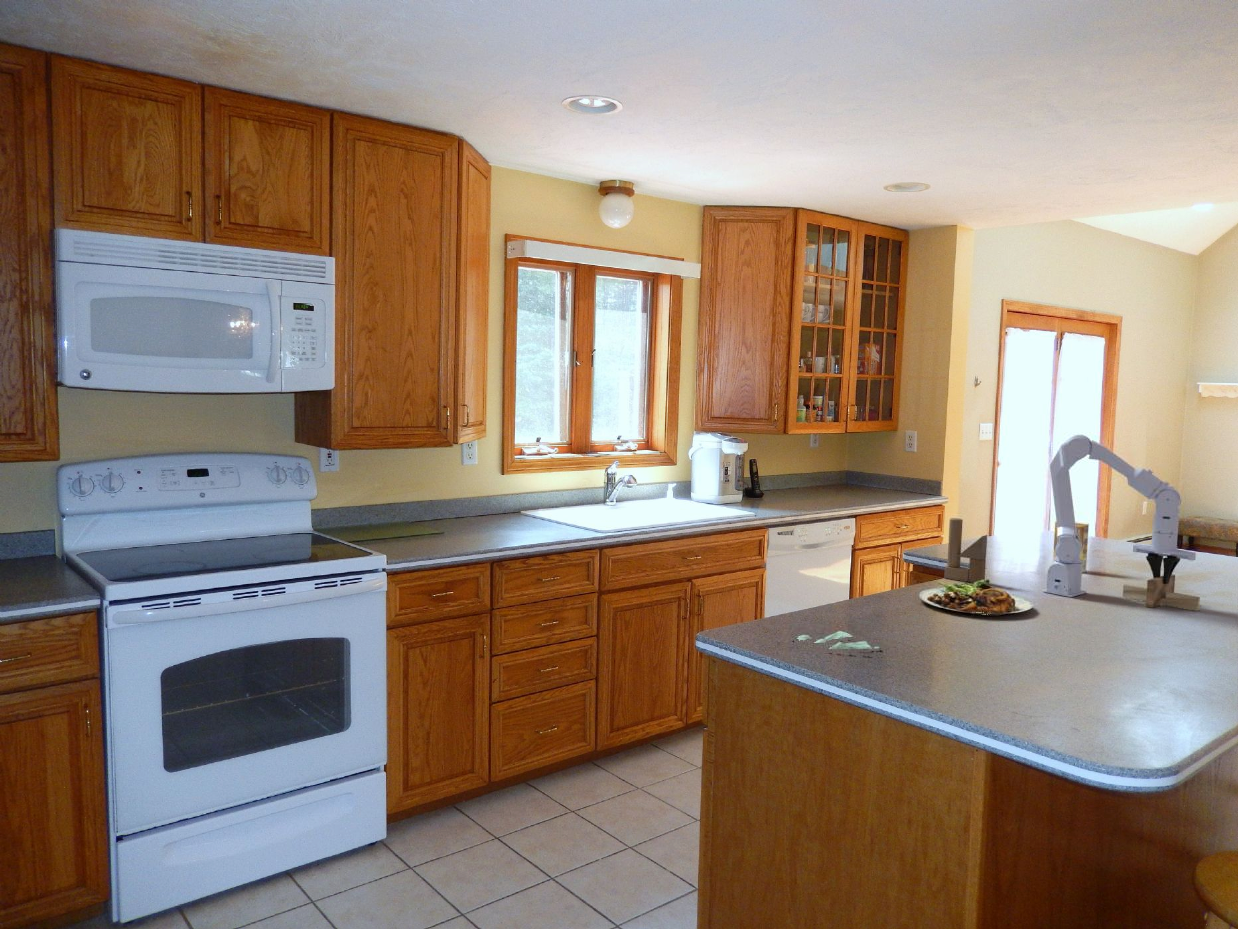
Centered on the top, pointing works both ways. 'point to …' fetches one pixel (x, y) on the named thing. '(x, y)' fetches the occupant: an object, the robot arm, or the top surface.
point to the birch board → (1170, 599)
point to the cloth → (840, 645)
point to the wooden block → (965, 555)
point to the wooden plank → (1158, 590)
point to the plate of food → (975, 599)
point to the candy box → (1083, 536)
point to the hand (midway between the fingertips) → (1161, 582)
